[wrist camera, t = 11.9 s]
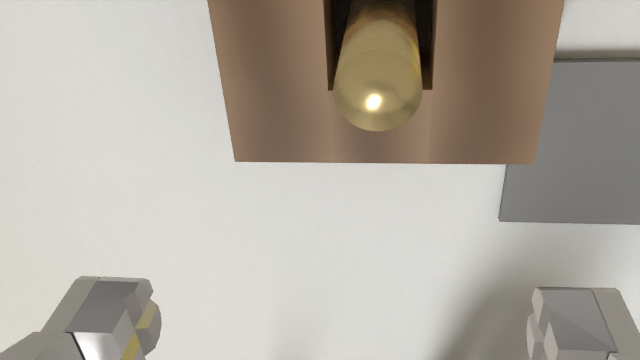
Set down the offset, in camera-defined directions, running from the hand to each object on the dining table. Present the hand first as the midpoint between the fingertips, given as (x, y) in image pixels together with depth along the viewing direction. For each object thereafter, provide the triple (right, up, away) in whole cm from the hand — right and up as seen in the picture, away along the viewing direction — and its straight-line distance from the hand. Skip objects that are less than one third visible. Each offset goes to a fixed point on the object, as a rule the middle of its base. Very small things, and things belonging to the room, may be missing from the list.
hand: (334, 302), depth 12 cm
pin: (+3, +11, +15) cm, 19 cm away
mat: (+16, +4, +18) cm, 25 cm away
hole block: (+3, +11, +15) cm, 19 cm away
